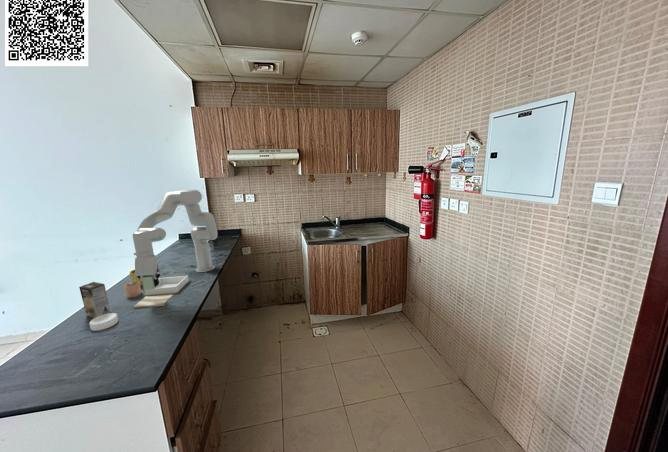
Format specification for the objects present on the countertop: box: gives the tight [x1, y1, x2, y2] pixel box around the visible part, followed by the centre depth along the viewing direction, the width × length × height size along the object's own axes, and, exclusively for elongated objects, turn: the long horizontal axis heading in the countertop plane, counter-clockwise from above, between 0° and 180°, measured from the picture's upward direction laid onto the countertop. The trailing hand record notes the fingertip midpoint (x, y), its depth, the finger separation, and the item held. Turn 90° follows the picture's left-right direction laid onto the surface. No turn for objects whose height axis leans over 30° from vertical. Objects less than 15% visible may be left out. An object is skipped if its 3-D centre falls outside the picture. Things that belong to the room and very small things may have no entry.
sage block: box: [142, 275, 158, 291], centre depth 142 cm, size 5×5×7 cm
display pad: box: [132, 293, 175, 309], centre depth 145 cm, size 12×15×1 cm
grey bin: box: [144, 275, 190, 297], centre depth 160 cm, size 17×17×4 cm
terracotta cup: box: [124, 280, 143, 299], centre depth 152 cm, size 7×7×8 cm
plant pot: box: [129, 269, 143, 287], centre depth 168 cm, size 10×10×10 cm
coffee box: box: [78, 281, 111, 319], centre depth 132 cm, size 9×6×16 cm
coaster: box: [89, 312, 119, 332], centre depth 124 cm, size 10×10×4 cm
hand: (151, 285), depth 143 cm, fingers closed on sage block, 5 cm apart
